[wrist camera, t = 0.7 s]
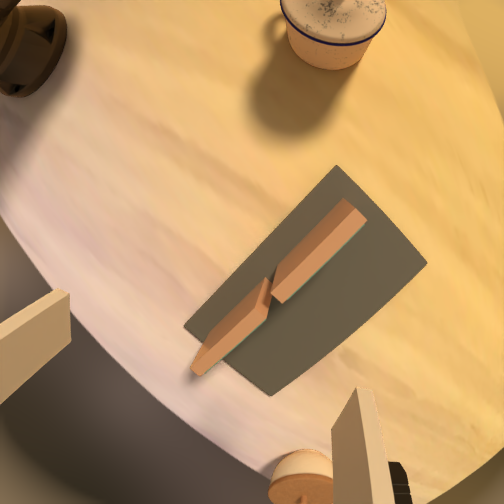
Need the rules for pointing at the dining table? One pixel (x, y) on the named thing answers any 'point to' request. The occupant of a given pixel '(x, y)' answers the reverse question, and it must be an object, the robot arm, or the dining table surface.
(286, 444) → the dining table surface
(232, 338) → the tile far
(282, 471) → the lidded jar
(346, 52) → the teacup with lid
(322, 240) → the tile near
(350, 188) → the mat
